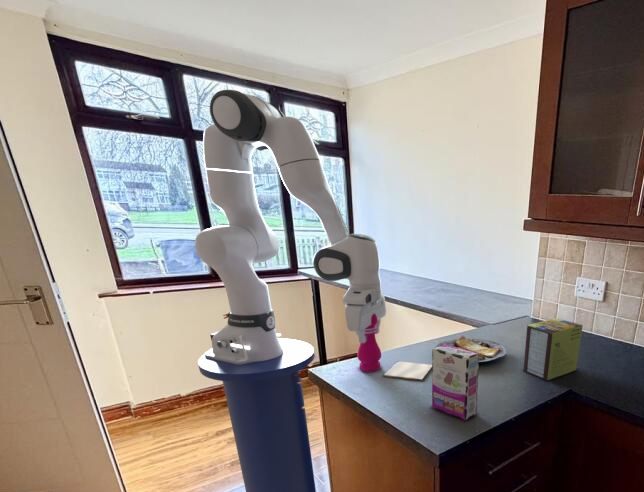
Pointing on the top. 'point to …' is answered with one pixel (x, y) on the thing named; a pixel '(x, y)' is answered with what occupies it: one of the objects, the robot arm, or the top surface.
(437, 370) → the candy bar box
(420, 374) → the coaster mat
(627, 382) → the top surface
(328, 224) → the robot arm
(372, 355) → the pepper mill
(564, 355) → the protein box
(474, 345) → the food plate
